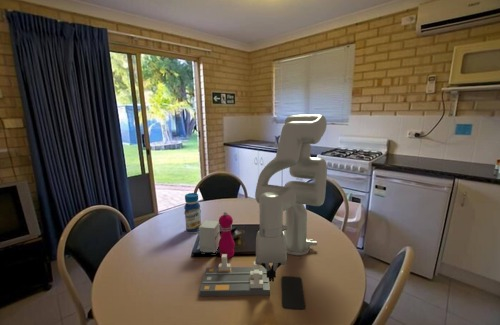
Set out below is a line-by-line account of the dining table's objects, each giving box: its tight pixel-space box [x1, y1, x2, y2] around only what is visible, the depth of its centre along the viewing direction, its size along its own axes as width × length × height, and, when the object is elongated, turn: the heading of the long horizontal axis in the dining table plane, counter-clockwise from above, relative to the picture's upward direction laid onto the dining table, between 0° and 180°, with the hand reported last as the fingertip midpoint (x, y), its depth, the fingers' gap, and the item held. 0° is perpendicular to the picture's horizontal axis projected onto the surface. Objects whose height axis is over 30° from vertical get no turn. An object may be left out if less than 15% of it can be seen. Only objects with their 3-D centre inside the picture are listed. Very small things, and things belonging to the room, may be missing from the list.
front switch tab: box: [250, 270, 263, 288], centre depth 82 cm, size 4×2×6 cm, turn 90°
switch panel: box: [199, 266, 271, 297], centre depth 88 cm, size 24×13×2 cm, turn 90°
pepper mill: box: [218, 211, 236, 259], centre depth 104 cm, size 7×7×20 cm
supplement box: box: [198, 220, 221, 253], centre depth 109 cm, size 7×7×13 cm
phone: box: [281, 275, 306, 311], centre depth 83 cm, size 7×1×15 cm
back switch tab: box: [218, 254, 232, 271], centre depth 92 cm, size 4×2×6 cm, turn 90°
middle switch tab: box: [250, 260, 263, 279], centre depth 87 cm, size 4×2×6 cm, turn 90°
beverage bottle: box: [183, 192, 202, 234], centre depth 127 cm, size 8×8×20 cm
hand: (271, 278), depth 82 cm, fingers closed
